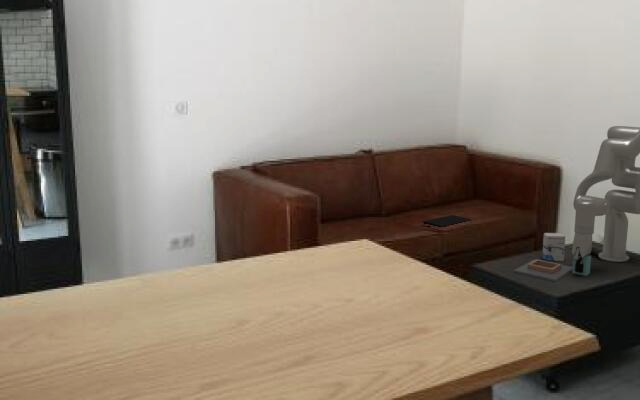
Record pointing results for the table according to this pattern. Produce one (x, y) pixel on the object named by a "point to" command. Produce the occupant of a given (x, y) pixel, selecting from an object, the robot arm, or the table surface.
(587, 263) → the block
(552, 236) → the ink box
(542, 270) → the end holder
